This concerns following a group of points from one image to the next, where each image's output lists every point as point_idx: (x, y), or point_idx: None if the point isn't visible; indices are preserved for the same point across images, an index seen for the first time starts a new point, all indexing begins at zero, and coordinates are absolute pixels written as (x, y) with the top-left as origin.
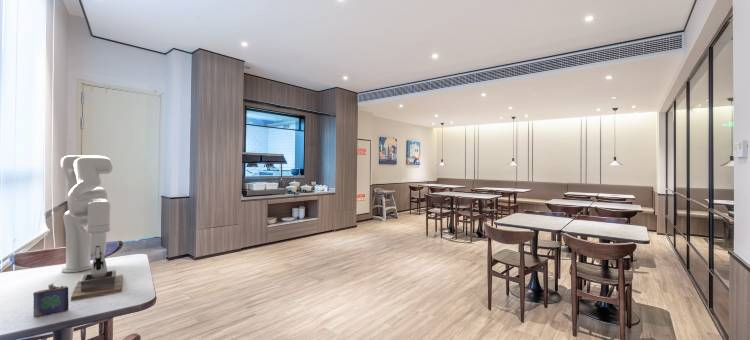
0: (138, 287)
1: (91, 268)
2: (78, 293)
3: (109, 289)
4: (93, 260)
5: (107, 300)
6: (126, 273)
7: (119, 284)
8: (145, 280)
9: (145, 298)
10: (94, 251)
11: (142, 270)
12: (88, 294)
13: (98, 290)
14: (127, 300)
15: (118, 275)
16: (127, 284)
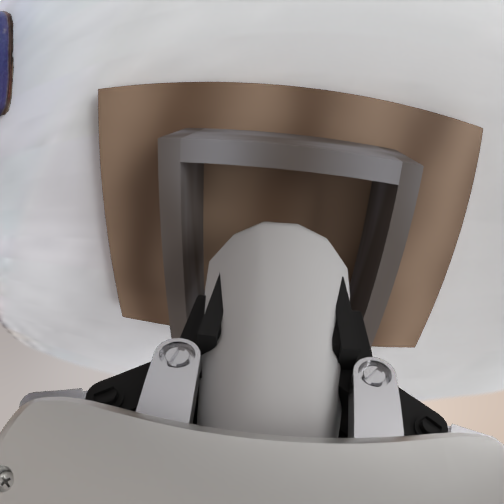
0: None
1: (261, 260)
2: (142, 118)
3: (127, 273)
4: (248, 356)
5: (41, 247)
6: (467, 346)
7: None
8: None
9: (32, 339)
10: (7, 483)
11: (446, 393)
12: (102, 175)
13: (138, 224)
14: (26, 300)
15: (415, 331)
16: None
